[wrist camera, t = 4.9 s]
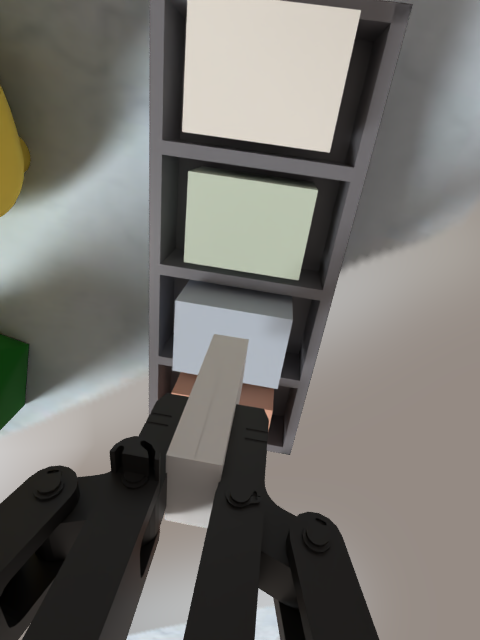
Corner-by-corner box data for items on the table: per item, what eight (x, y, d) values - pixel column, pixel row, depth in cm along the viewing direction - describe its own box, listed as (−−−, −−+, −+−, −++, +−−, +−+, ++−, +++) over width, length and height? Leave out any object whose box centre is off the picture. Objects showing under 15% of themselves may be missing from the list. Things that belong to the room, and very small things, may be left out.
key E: (184, 363, 23) (171, 392, 21) (274, 379, 23) (272, 410, 20) (181, 413, 25) (169, 445, 23) (264, 428, 25) (261, 462, 23)
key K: (189, 279, 21) (175, 300, 18) (292, 296, 20) (292, 320, 18) (186, 343, 23) (172, 370, 20) (278, 359, 22) (277, 389, 20)
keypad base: (183, 12, 18) (149, -28, 14) (381, 37, 18) (412, 4, 13) (169, 384, 29) (148, 428, 25) (289, 406, 29) (290, 454, 24)
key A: (205, 15, 15) (187, -11, 12) (348, 32, 15) (361, 10, 12) (198, 132, 17) (182, 131, 14) (323, 149, 17) (329, 152, 14)
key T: (202, 166, 19) (188, 171, 16) (314, 182, 19) (318, 190, 16) (197, 246, 21) (183, 261, 18) (297, 262, 21) (298, 280, 18)
